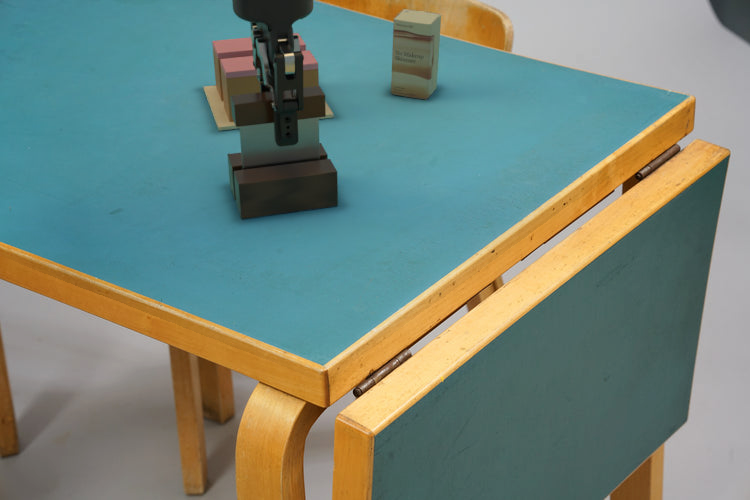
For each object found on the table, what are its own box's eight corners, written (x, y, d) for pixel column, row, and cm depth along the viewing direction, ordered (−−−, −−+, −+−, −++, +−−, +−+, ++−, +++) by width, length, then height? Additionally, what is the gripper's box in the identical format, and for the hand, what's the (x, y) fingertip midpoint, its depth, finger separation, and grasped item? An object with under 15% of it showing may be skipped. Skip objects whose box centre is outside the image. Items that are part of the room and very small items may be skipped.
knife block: (241, 219, 98) (238, 184, 96) (230, 187, 104) (227, 153, 102) (338, 206, 101) (337, 171, 99) (321, 175, 106) (320, 142, 104)
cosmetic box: (389, 95, 125) (390, 18, 120) (400, 83, 129) (402, 7, 124) (428, 100, 124) (431, 23, 119) (438, 88, 127) (441, 12, 122)
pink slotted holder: (218, 131, 116) (214, 76, 112) (203, 89, 127) (198, 39, 123) (333, 117, 119) (332, 64, 116) (309, 78, 130) (307, 29, 126)
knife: (242, 208, 100) (234, 104, 94) (238, 197, 102) (230, 95, 96) (327, 196, 102) (325, 94, 96) (322, 186, 104) (319, 85, 98)
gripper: (218, -55, 94) (231, 106, 103) (243, -12, 83) (255, 166, 92) (294, -61, 96) (300, 98, 105) (330, -19, 85) (333, 156, 93)
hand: (279, 129), depth 98 cm, fingers open, 6 cm apart
